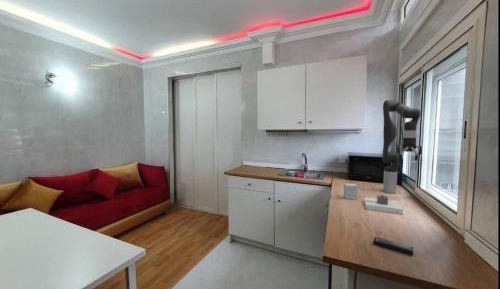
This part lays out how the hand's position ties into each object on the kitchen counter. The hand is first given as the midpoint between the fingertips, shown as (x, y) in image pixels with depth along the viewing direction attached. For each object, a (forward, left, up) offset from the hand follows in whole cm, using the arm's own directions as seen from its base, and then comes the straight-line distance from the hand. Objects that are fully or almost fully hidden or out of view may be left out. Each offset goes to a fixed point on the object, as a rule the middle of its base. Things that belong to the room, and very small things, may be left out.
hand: (408, 160), depth 152 cm
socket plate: (+18, -17, -30) cm, 39 cm away
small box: (+6, -36, -30) cm, 47 cm away
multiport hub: (+72, -20, -31) cm, 81 cm away
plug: (+18, -17, -30) cm, 39 cm away
